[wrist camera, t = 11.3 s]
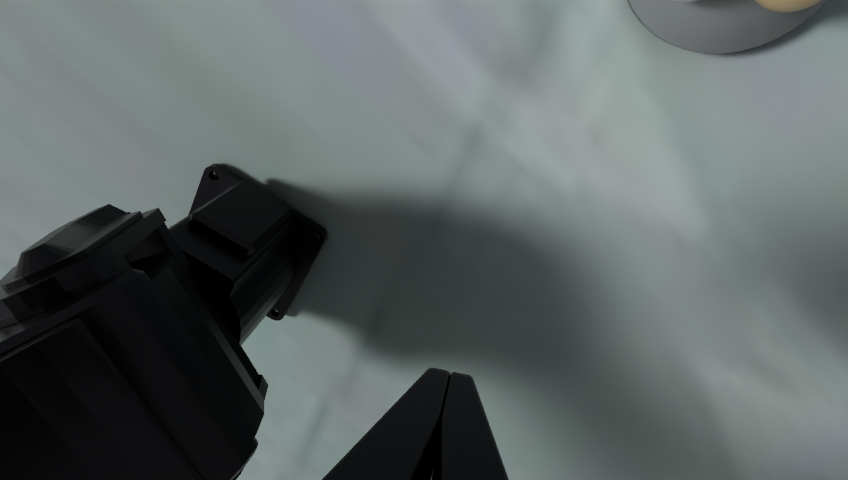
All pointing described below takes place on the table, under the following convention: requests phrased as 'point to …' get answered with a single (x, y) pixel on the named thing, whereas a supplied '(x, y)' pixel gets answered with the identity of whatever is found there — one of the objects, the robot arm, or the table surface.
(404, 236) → the table surface
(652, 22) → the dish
